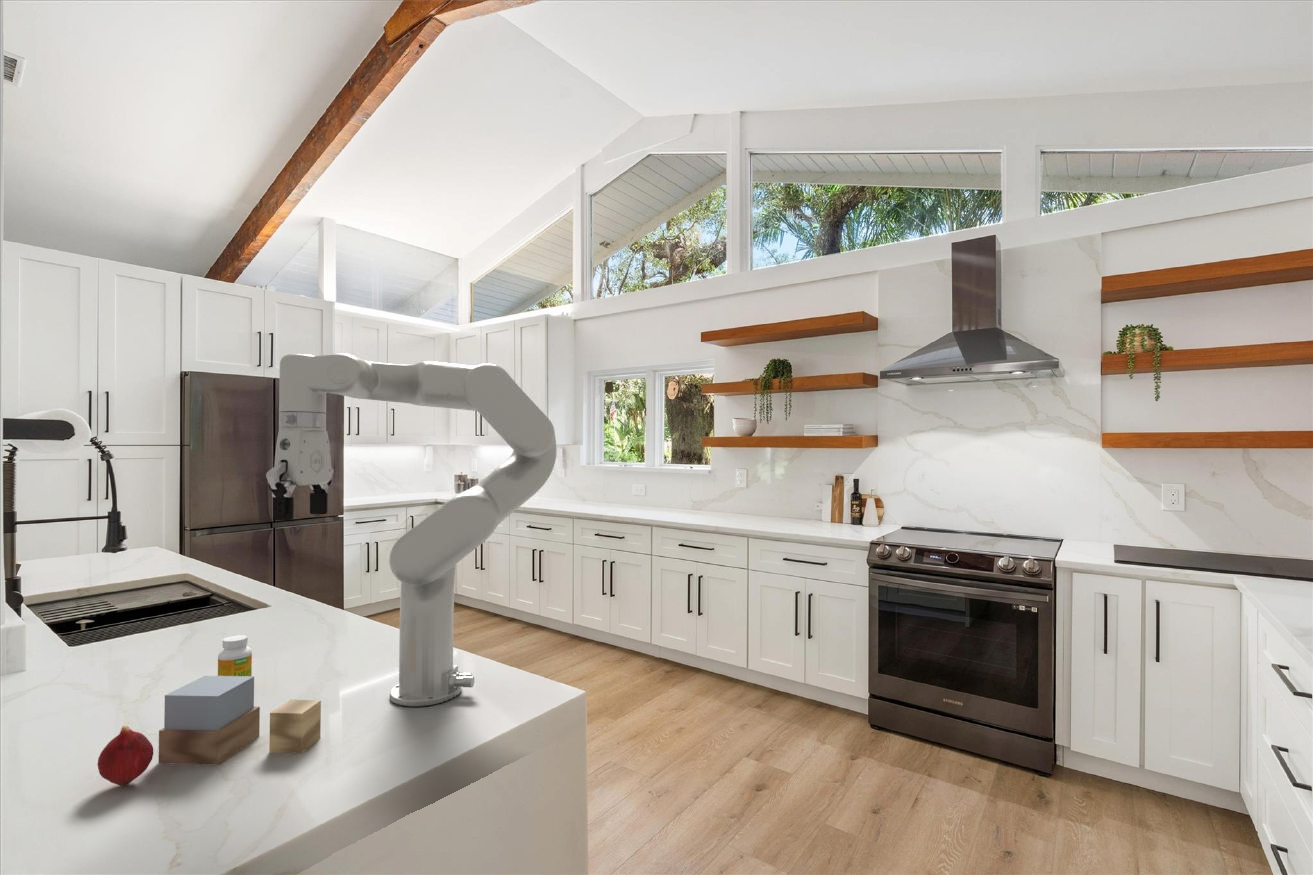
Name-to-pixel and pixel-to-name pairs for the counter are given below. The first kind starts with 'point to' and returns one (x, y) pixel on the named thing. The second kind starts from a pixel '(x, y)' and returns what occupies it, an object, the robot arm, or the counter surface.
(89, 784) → the counter surface
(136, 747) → the onion
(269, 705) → the counter surface
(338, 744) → the counter surface
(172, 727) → the grey square block
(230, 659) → the supplement bottle
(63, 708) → the counter surface
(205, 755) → the tower base
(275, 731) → the oak block
